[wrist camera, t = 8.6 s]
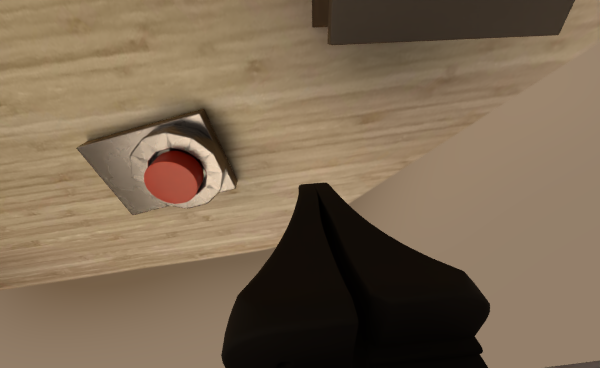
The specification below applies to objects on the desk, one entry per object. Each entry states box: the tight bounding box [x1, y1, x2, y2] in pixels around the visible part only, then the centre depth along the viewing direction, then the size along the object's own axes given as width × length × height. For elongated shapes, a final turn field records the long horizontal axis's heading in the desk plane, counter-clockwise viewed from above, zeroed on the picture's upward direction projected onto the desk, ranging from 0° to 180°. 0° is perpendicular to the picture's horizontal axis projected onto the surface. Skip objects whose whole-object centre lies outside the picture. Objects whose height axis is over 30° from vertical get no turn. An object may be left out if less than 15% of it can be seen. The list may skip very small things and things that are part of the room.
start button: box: [144, 151, 204, 204], centre depth 18 cm, size 4×4×2 cm
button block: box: [77, 109, 237, 215], centre depth 20 cm, size 10×7×3 cm
